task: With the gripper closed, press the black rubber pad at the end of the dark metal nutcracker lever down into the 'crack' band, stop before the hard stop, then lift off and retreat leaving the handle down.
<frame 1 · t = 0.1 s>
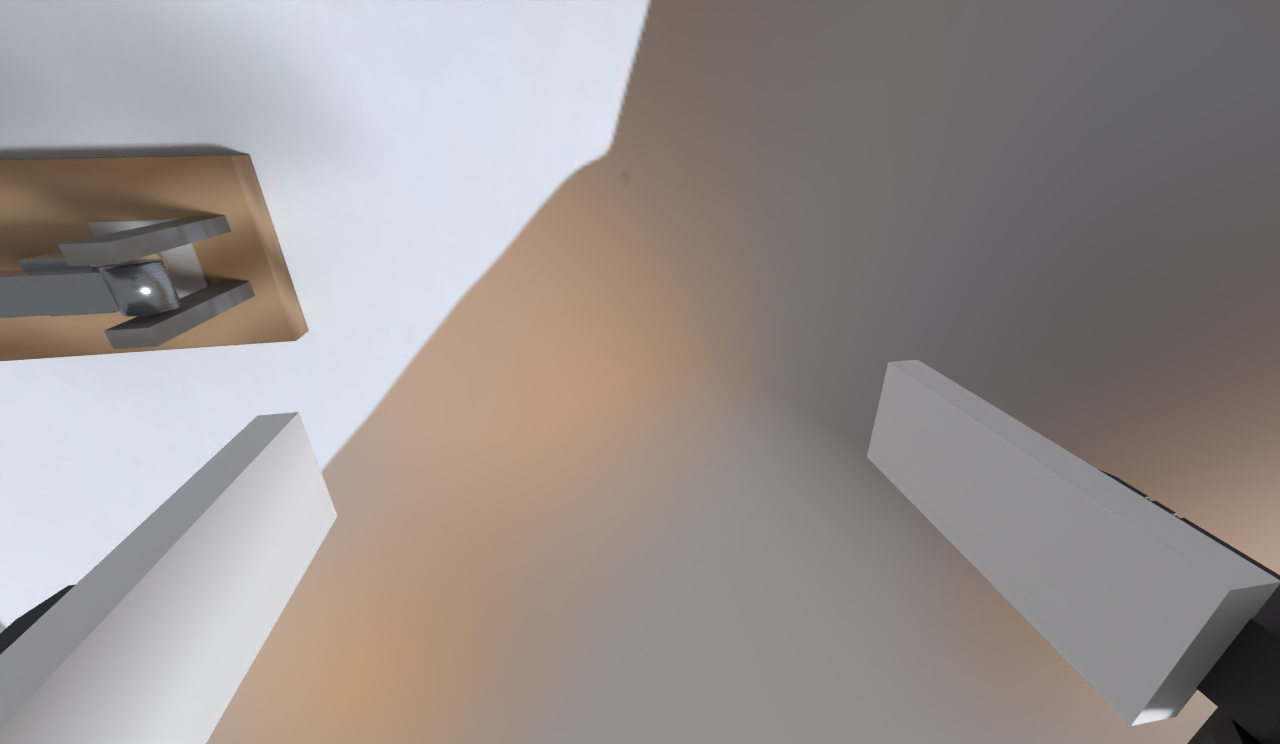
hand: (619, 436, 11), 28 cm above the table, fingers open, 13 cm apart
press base: (134, 256, 32), on the table
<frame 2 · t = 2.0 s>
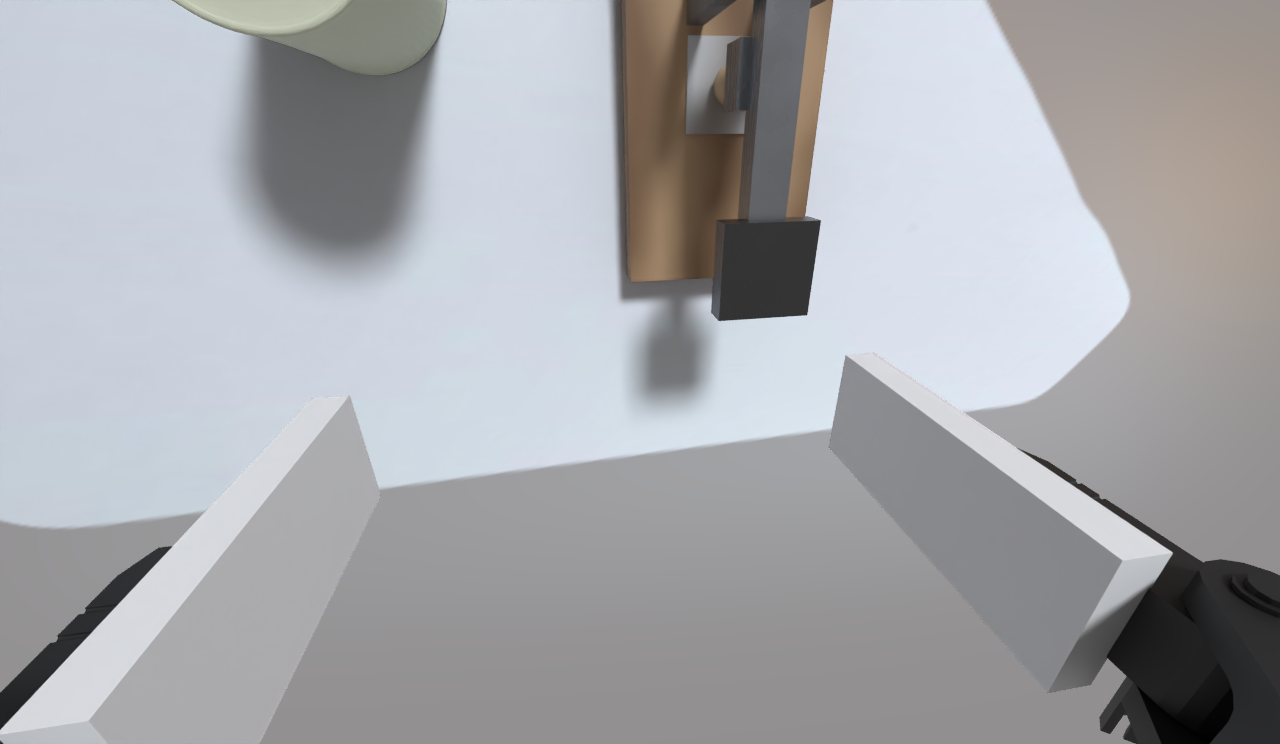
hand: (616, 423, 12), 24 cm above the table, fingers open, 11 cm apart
lever: (763, 146, 25), point 8 cm above the table, hinge at 0.0°
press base: (715, 134, 32), on the table
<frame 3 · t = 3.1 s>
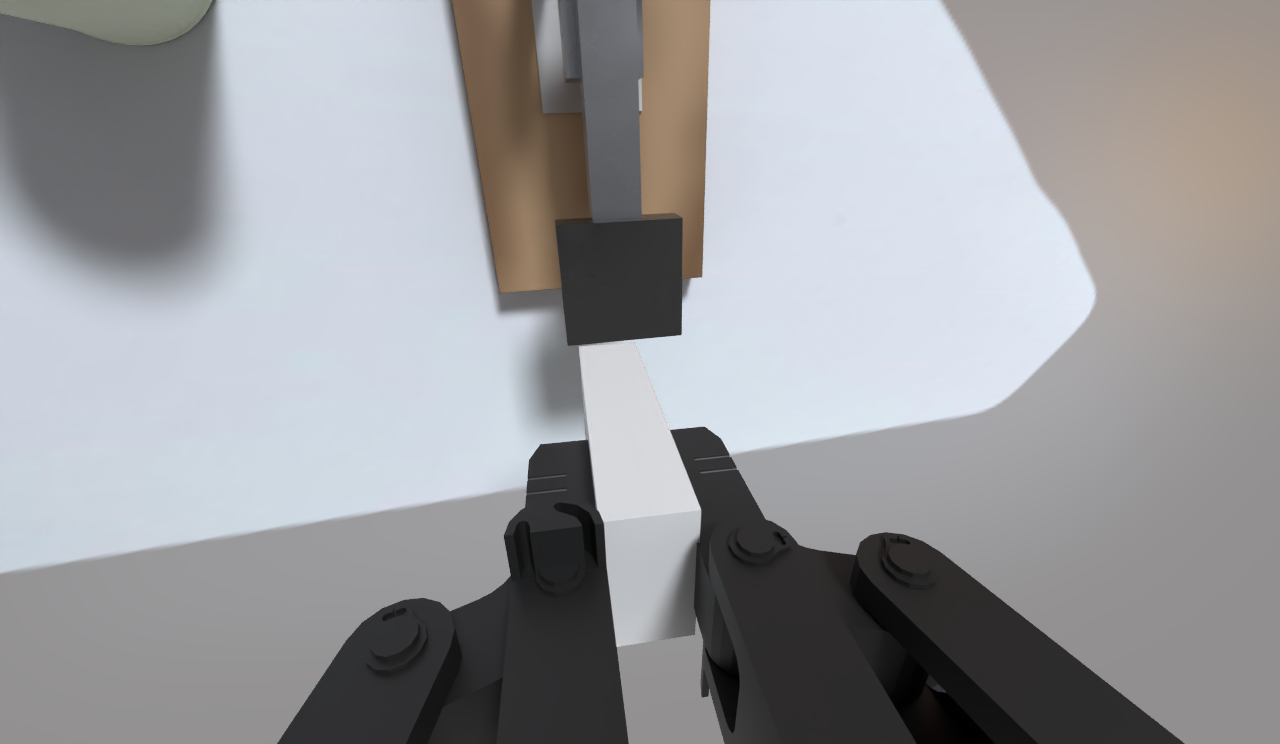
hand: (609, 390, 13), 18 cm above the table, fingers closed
lever: (608, 125, 19), point 8 cm above the table, hinge at 0.0°
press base: (589, 113, 26), on the table
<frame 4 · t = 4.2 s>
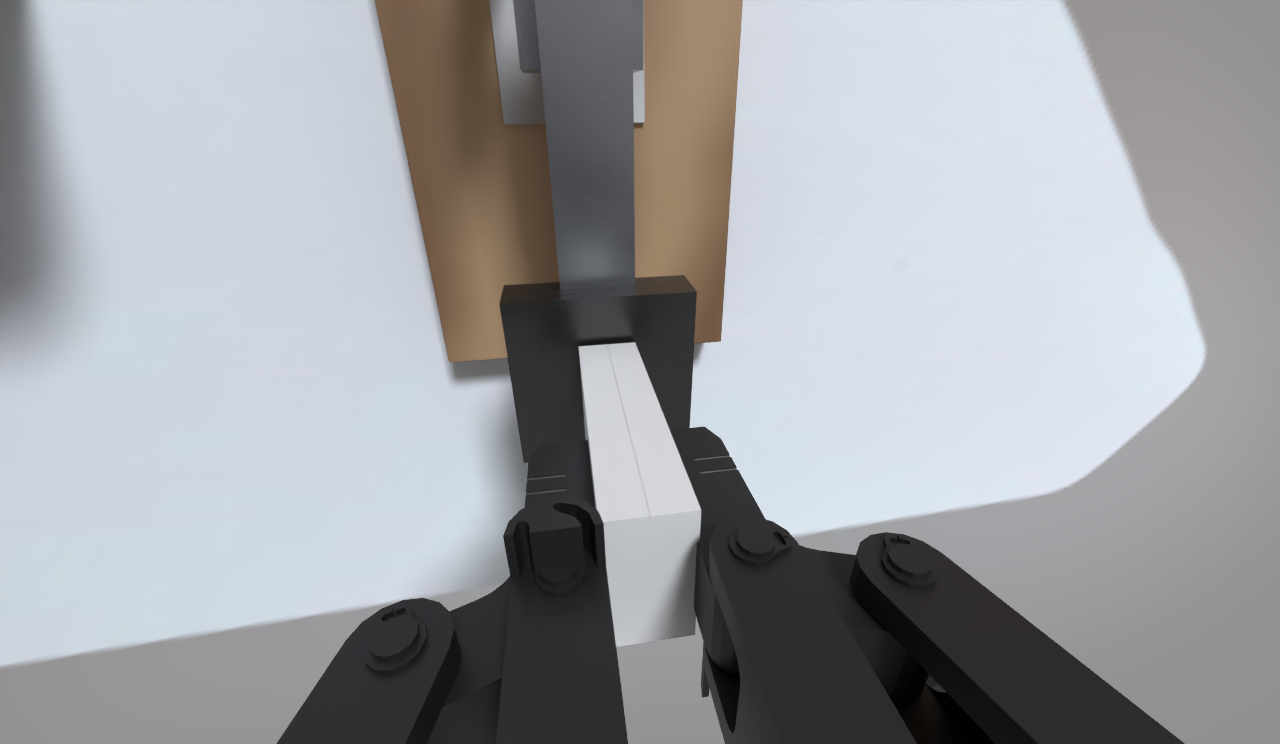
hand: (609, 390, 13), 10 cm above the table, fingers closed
lever: (587, 144, 13), point 8 cm above the table, hinge at 3.4°, touching gripper
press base: (573, 124, 19), on the table
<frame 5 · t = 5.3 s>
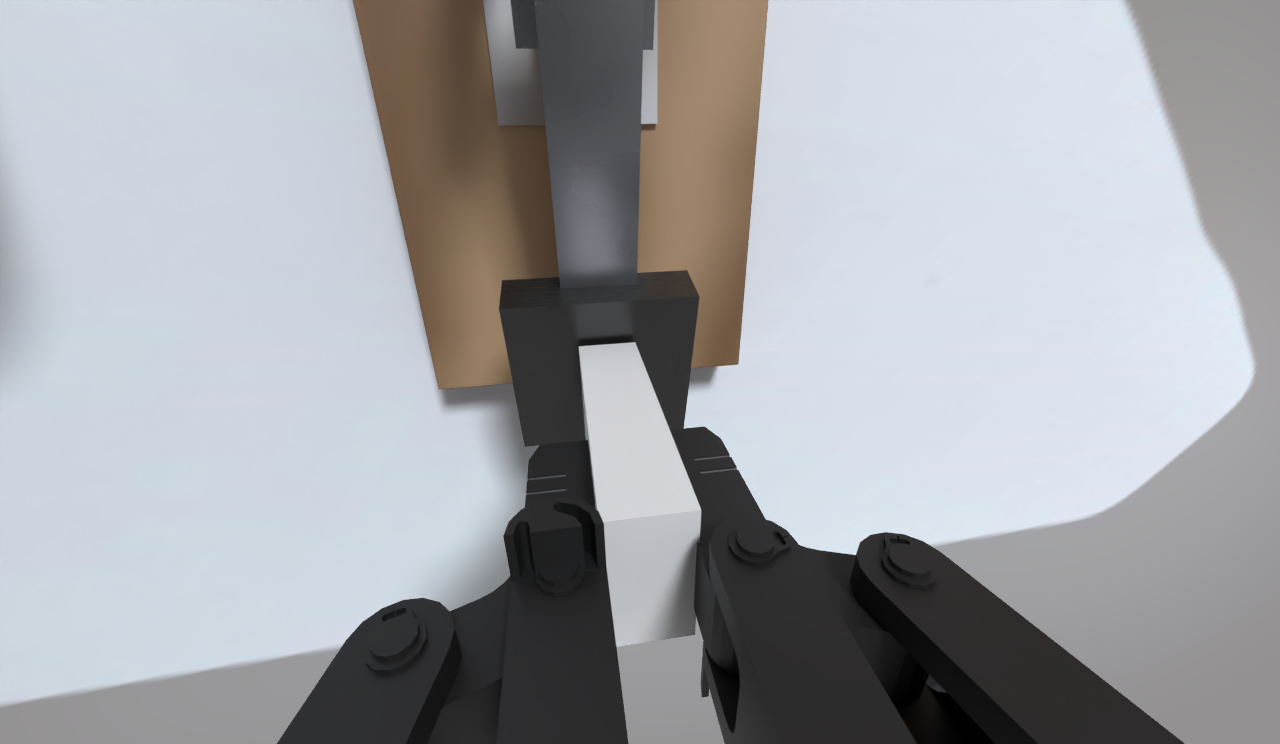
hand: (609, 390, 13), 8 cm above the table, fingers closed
lever: (589, 133, 12), point 7 cm above the table, hinge at 14.5°, touching gripper
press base: (576, 126, 17), on the table
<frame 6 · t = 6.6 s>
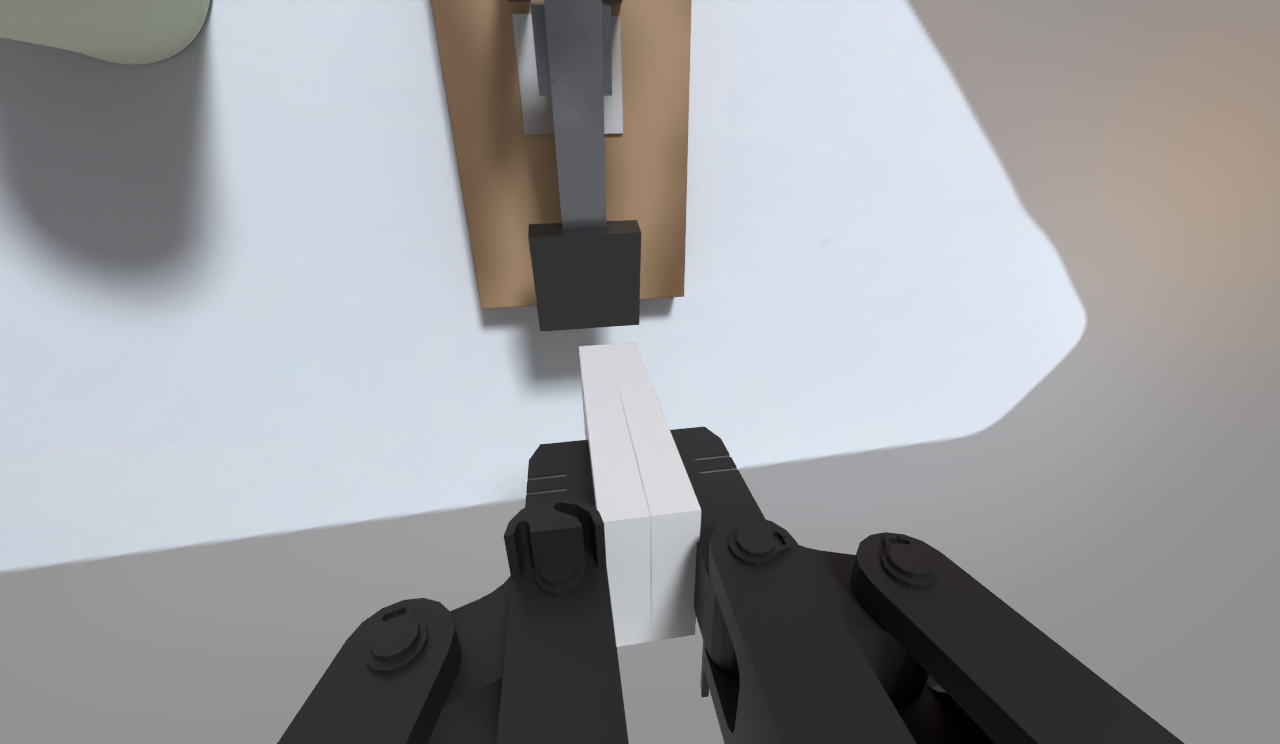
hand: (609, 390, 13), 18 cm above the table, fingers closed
lever: (578, 139, 21), point 7 cm above the table, hinge at 14.5°
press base: (573, 134, 27), on the table
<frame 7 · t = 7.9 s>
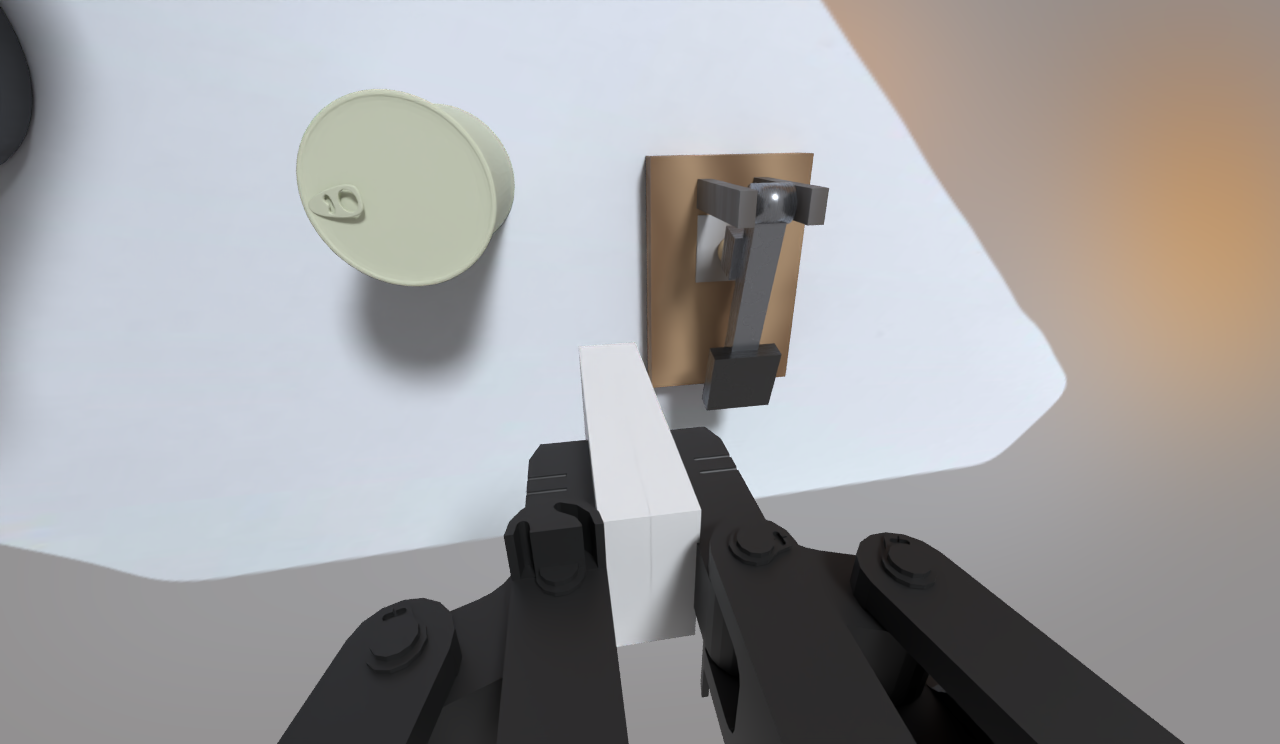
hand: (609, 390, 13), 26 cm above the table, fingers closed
lever: (746, 300, 34), point 7 cm above the table, hinge at 14.5°
can: (447, 178, 34), on the table
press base: (718, 273, 40), on the table
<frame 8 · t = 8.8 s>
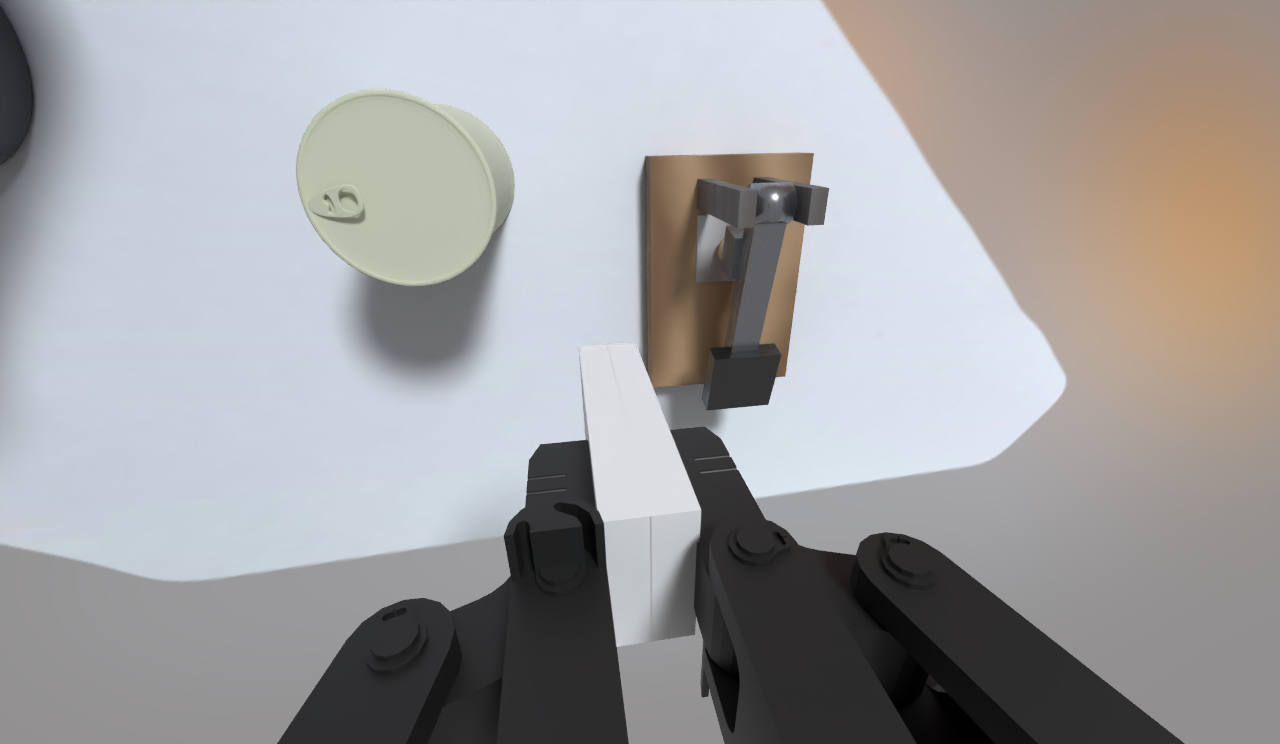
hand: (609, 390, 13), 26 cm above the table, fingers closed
lever: (746, 300, 34), point 7 cm above the table, hinge at 14.5°
can: (447, 178, 34), on the table
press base: (718, 273, 40), on the table
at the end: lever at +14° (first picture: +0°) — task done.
